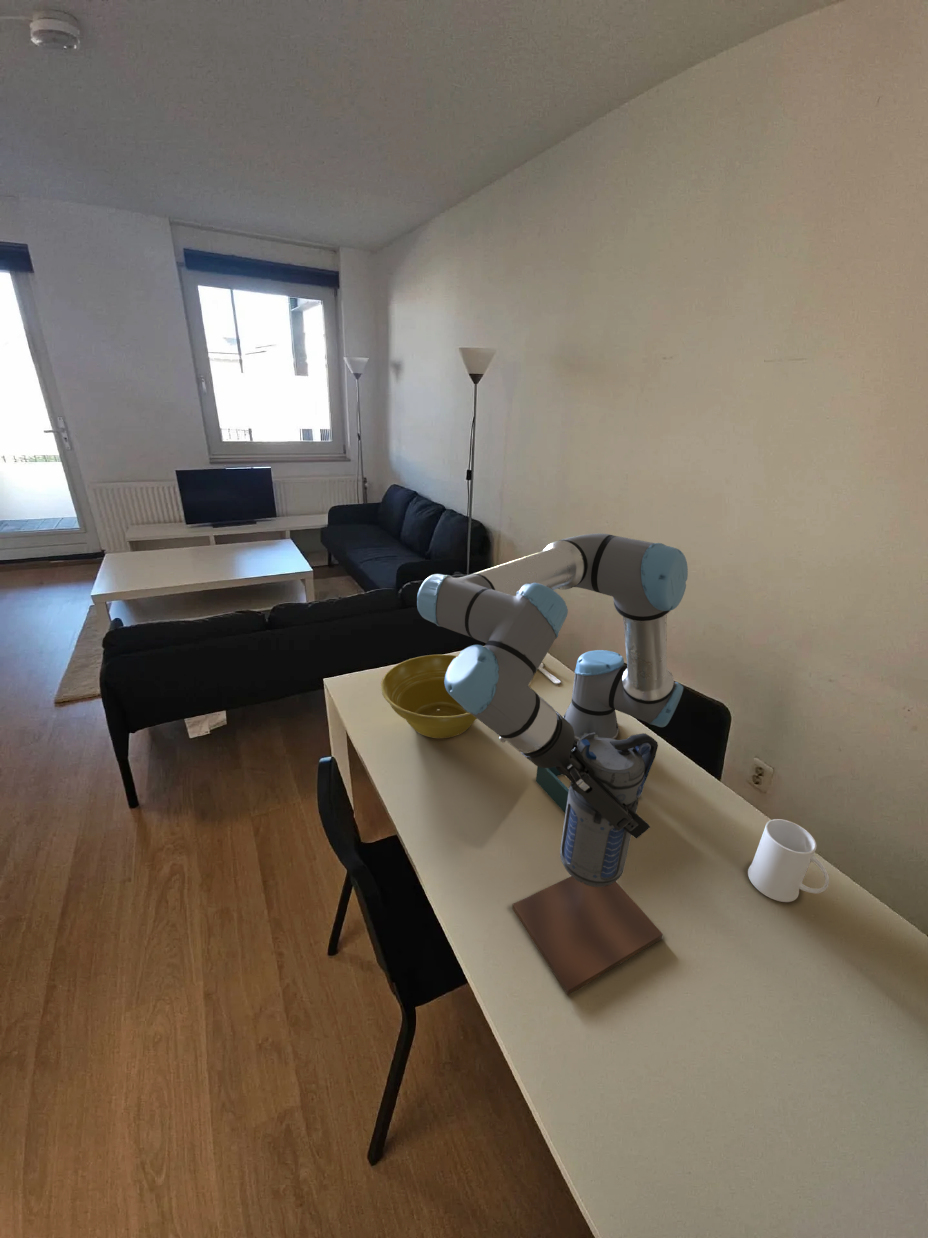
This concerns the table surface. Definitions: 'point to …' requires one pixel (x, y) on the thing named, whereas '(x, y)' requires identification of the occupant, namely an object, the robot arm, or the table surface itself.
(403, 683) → the planter bowl
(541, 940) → the walnut board
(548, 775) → the teal open box
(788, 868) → the mug
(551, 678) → the spoon
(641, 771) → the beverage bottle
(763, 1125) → the table surface
